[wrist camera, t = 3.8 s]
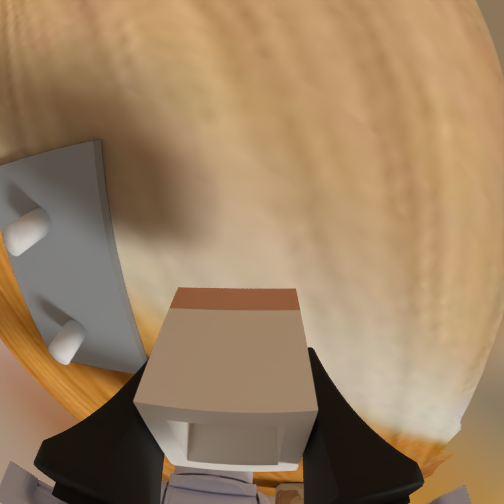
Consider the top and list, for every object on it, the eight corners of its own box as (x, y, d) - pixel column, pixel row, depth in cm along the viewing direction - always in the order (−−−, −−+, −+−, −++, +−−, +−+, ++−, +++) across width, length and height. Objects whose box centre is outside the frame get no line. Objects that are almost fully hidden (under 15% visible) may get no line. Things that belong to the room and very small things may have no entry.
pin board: (150, 368, 24) (137, 405, 20) (56, 350, 24) (38, 379, 20) (101, 139, 15) (59, 148, 11) (-4, 167, 15) (-40, 181, 11)
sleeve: (287, 367, 14) (296, 470, 9) (193, 365, 14) (171, 464, 9) (295, 288, 12) (317, 410, 6) (178, 287, 12) (133, 401, 6)
